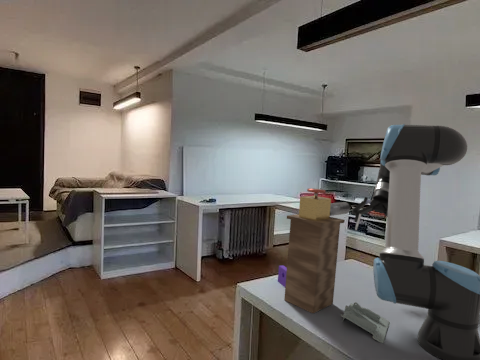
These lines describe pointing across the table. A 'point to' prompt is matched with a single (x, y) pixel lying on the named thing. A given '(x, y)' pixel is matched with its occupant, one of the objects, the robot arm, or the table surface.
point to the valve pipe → (320, 206)
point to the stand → (312, 262)
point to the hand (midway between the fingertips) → (373, 233)
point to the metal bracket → (367, 320)
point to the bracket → (282, 275)
